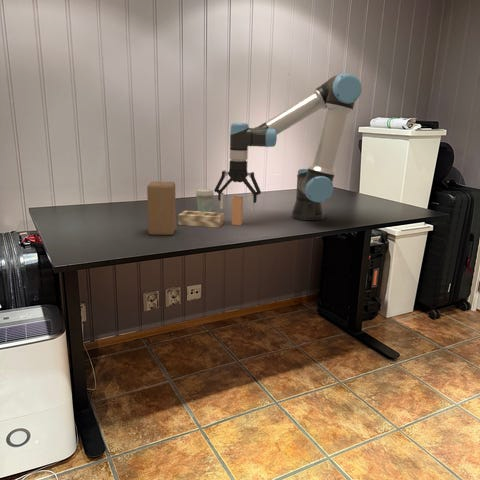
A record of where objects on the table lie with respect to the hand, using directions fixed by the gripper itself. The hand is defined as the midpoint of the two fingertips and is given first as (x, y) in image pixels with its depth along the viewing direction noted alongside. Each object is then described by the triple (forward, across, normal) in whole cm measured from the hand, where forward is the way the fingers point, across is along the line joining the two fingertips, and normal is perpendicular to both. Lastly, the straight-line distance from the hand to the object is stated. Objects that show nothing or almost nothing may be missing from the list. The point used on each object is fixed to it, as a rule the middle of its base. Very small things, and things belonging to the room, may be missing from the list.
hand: (237, 209), depth 205 cm
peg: (+7, 0, 0) cm, 7 cm away
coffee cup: (+7, +18, -13) cm, 23 cm away
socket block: (+7, +15, +4) cm, 17 cm away
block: (+7, +26, +23) cm, 35 cm away
